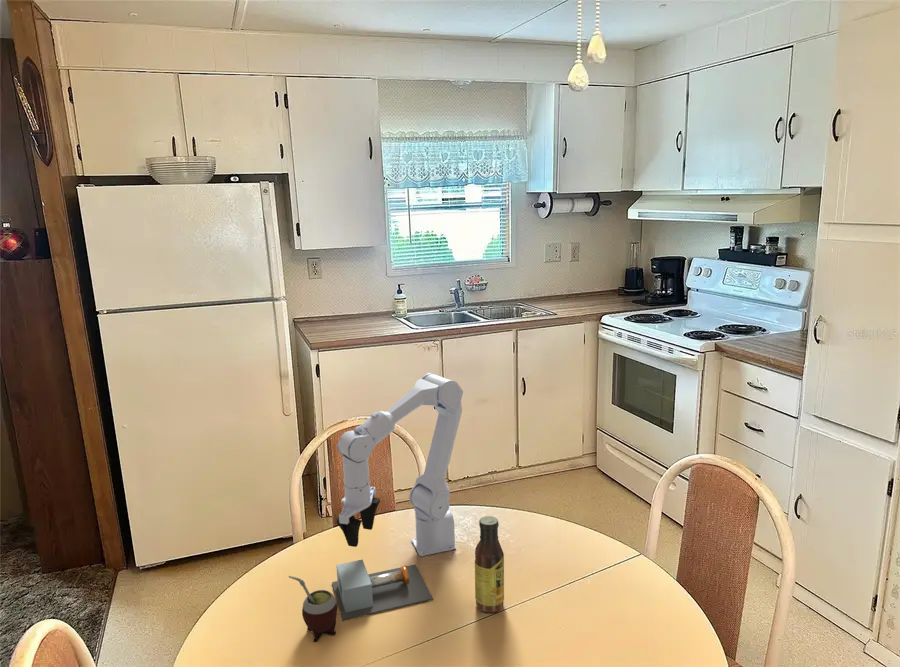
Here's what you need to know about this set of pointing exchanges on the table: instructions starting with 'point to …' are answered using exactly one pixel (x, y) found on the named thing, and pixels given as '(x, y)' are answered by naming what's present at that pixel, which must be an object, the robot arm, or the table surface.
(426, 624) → the table surface
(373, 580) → the pin
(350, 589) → the block
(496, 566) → the sauce bottle
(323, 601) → the mate gourd
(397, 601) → the mat
